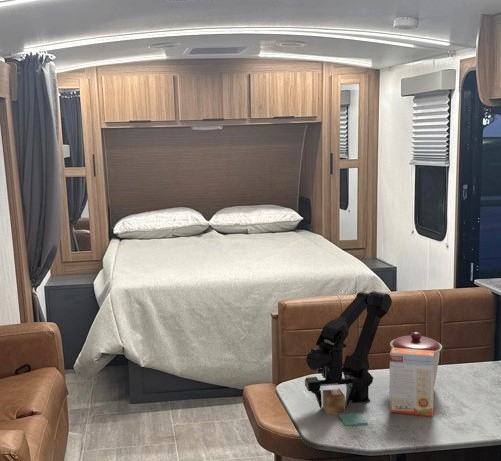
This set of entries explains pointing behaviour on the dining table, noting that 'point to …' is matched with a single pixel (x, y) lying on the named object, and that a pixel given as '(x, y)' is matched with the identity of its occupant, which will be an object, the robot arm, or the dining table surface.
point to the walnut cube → (333, 401)
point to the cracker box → (412, 381)
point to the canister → (419, 346)
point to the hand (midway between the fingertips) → (333, 406)
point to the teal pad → (353, 419)
